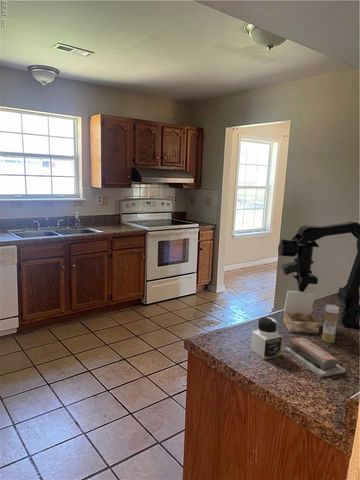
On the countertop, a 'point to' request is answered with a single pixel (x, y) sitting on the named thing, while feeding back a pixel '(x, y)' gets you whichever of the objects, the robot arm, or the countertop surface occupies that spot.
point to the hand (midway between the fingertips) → (300, 294)
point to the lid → (299, 302)
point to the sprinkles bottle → (330, 323)
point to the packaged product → (313, 357)
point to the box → (301, 322)
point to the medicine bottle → (266, 339)
